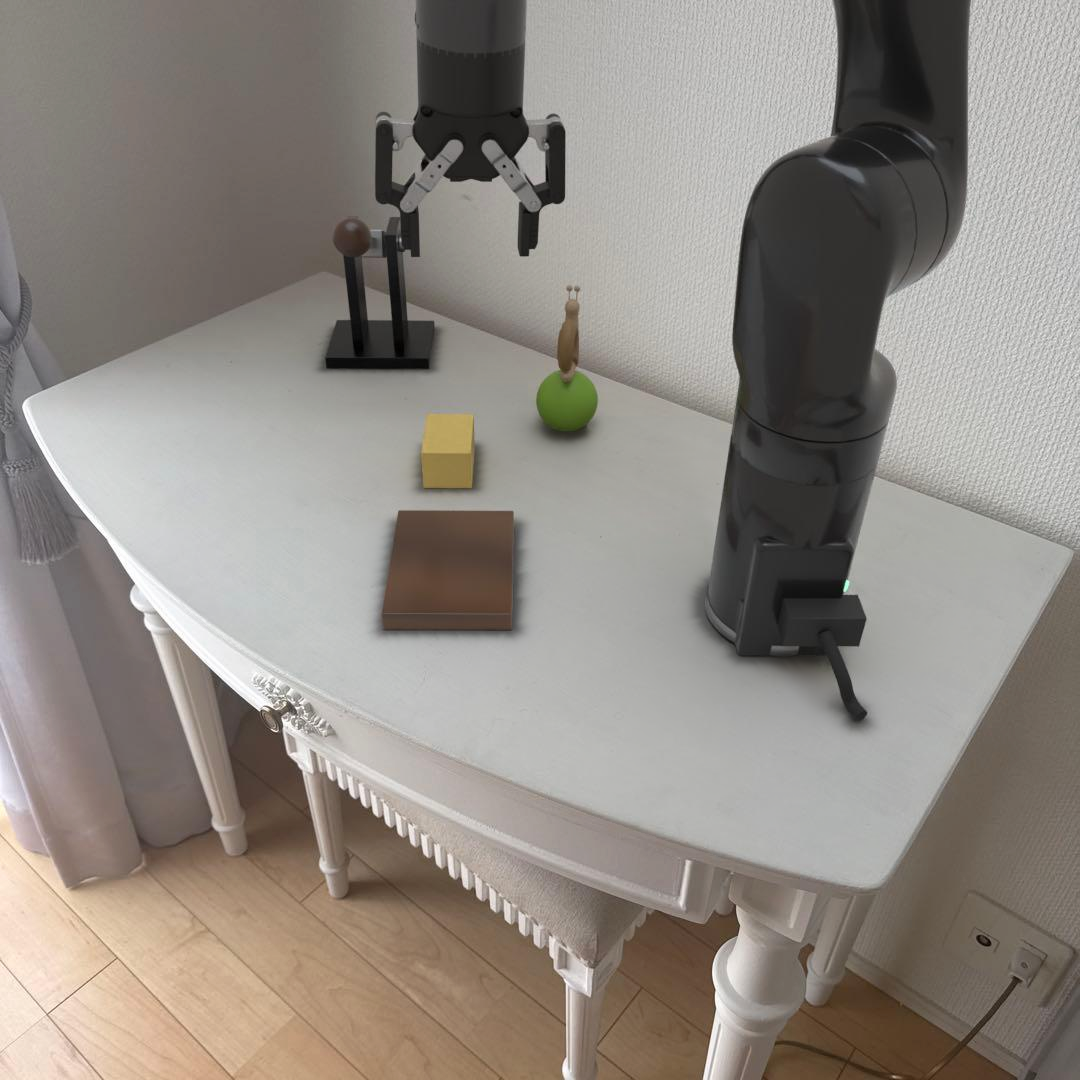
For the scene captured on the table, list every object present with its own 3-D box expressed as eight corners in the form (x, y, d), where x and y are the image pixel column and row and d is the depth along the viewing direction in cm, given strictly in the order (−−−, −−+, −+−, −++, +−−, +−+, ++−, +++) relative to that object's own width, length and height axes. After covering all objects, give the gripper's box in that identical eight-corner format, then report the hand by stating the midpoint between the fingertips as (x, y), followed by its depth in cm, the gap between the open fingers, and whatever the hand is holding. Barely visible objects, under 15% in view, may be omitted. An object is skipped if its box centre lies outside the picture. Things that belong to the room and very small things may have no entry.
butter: (471, 488, 86) (470, 453, 84) (423, 488, 86) (421, 452, 84) (474, 448, 91) (473, 414, 89) (428, 448, 91) (426, 413, 89)
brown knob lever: (369, 257, 85) (368, 216, 85) (330, 256, 85) (328, 215, 85) (392, 262, 100) (391, 227, 99) (358, 261, 100) (357, 226, 99)
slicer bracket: (429, 369, 102) (421, 242, 94) (326, 368, 102) (310, 242, 94) (434, 331, 108) (428, 209, 100) (338, 330, 108) (323, 208, 100)
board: (512, 630, 73) (512, 614, 72) (382, 629, 73) (381, 613, 72) (513, 525, 82) (513, 510, 82) (399, 525, 82) (398, 509, 81)
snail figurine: (598, 407, 97) (605, 285, 89) (594, 444, 92) (601, 319, 84) (540, 403, 97) (542, 282, 90) (532, 440, 92) (534, 315, 85)
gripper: (366, 46, 68) (379, 275, 79) (581, 50, 70) (565, 273, 81) (366, 15, 74) (378, 233, 84) (565, 19, 76) (552, 232, 86)
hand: (469, 252), depth 82 cm, fingers open, 8 cm apart
